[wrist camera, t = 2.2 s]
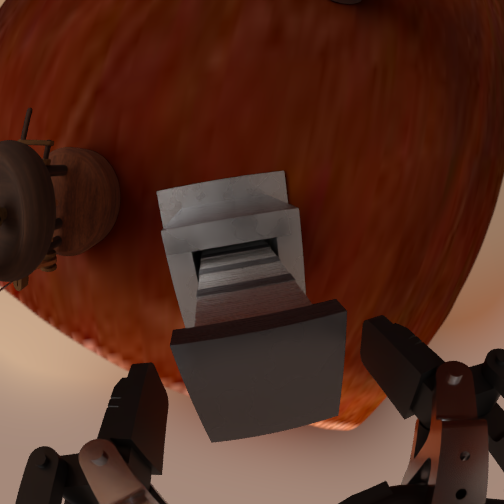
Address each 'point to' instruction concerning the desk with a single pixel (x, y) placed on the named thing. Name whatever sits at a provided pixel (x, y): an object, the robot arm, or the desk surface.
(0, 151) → the brown piece
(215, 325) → the column
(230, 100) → the desk surface
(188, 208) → the stand
